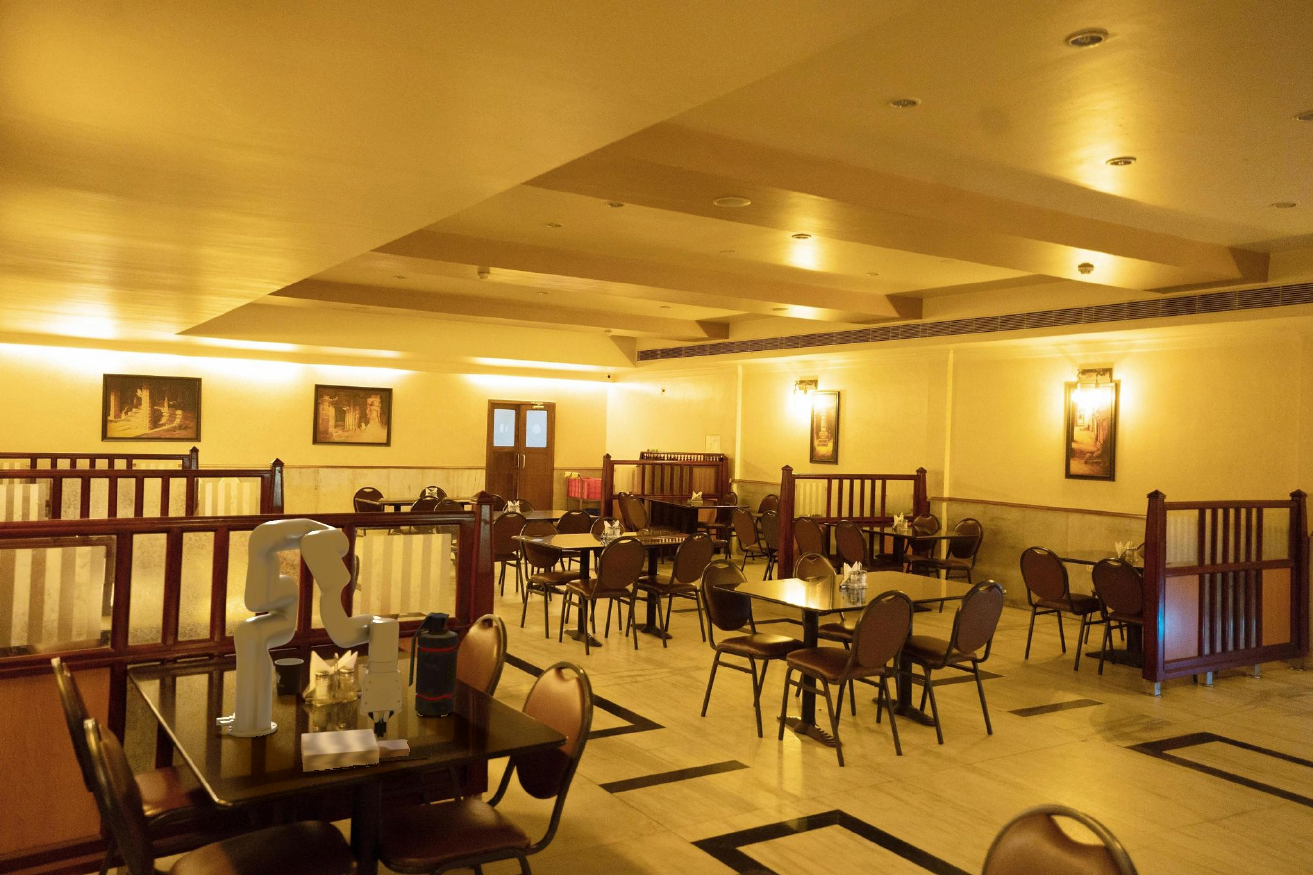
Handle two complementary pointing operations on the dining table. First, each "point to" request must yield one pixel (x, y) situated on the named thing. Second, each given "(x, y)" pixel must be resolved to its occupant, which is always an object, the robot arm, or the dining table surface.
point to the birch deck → (338, 749)
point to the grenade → (434, 666)
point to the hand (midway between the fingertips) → (379, 735)
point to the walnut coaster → (393, 748)
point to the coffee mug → (288, 676)
